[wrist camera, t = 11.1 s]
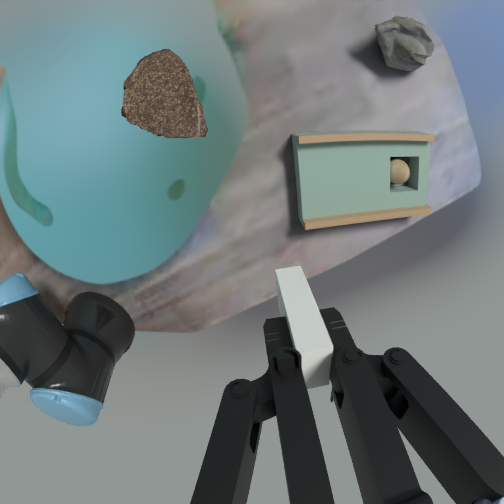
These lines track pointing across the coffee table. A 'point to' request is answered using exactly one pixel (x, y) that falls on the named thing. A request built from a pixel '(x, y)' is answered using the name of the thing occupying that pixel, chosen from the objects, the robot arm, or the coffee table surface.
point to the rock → (163, 97)
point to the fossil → (404, 43)
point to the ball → (399, 171)
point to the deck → (358, 176)
